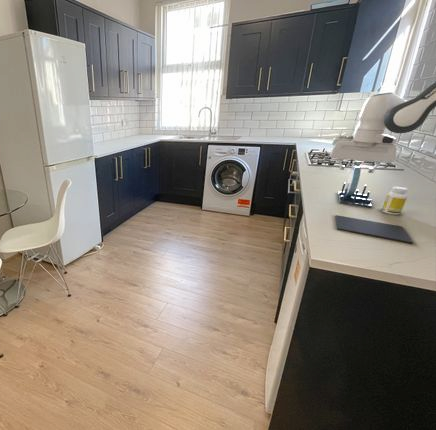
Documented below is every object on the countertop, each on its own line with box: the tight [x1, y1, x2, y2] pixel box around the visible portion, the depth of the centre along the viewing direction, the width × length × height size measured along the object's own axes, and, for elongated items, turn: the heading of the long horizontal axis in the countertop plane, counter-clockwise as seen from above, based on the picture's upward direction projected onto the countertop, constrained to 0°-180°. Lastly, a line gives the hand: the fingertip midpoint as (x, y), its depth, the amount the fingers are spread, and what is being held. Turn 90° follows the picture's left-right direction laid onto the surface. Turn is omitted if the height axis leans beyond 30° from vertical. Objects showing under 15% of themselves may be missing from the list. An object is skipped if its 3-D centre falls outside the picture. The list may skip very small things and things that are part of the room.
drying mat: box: [335, 214, 413, 245], centre depth 93 cm, size 18×14×1 cm
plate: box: [344, 165, 362, 197], centre depth 118 cm, size 2×13×13 cm, turn 146°
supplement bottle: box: [381, 186, 409, 216], centre depth 105 cm, size 5×5×10 cm
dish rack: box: [337, 182, 372, 209], centre depth 119 cm, size 10×16×6 cm, turn 145°
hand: (355, 171), depth 117 cm, fingers open, 8 cm apart
